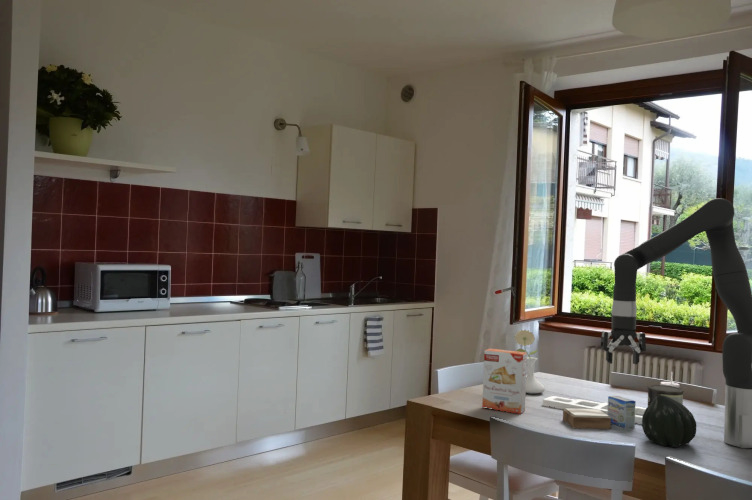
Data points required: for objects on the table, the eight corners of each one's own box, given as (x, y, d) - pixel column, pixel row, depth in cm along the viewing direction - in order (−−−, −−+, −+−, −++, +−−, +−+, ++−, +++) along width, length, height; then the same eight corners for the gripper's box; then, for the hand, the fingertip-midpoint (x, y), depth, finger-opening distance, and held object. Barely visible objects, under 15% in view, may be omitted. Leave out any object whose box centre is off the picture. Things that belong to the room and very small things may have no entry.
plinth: (610, 428, 200) (610, 416, 200) (573, 428, 200) (574, 415, 200) (598, 420, 210) (598, 408, 210) (562, 419, 210) (563, 407, 210)
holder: (542, 406, 230) (542, 399, 230) (562, 399, 244) (562, 392, 244) (673, 431, 201) (673, 423, 201) (688, 421, 215) (688, 414, 215)
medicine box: (606, 422, 209) (607, 395, 209) (616, 420, 211) (617, 395, 211) (625, 428, 202) (625, 401, 202) (635, 427, 204) (636, 400, 204)
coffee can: (642, 432, 197) (643, 387, 197) (651, 426, 205) (653, 383, 205) (677, 439, 191) (678, 393, 191) (686, 432, 199) (687, 388, 199)
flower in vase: (548, 392, 254) (550, 330, 254) (539, 397, 244) (541, 332, 244) (517, 387, 261) (519, 327, 261) (507, 392, 251) (509, 329, 251)
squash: (716, 431, 181) (684, 385, 189) (684, 439, 173) (652, 391, 182) (682, 453, 190) (653, 408, 199) (650, 461, 183) (621, 415, 191)
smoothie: (680, 412, 226) (682, 373, 226) (661, 411, 227) (663, 372, 227) (676, 408, 232) (677, 370, 232) (657, 407, 234) (658, 369, 234)
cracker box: (481, 408, 221) (483, 349, 221) (486, 405, 227) (488, 347, 227) (521, 414, 215) (522, 353, 215) (525, 411, 220) (527, 351, 220)
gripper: (607, 314, 203) (606, 365, 203) (650, 316, 203) (649, 366, 203) (598, 312, 210) (596, 361, 210) (639, 314, 211) (638, 362, 211)
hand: (622, 363), depth 207 cm, fingers open, 8 cm apart
